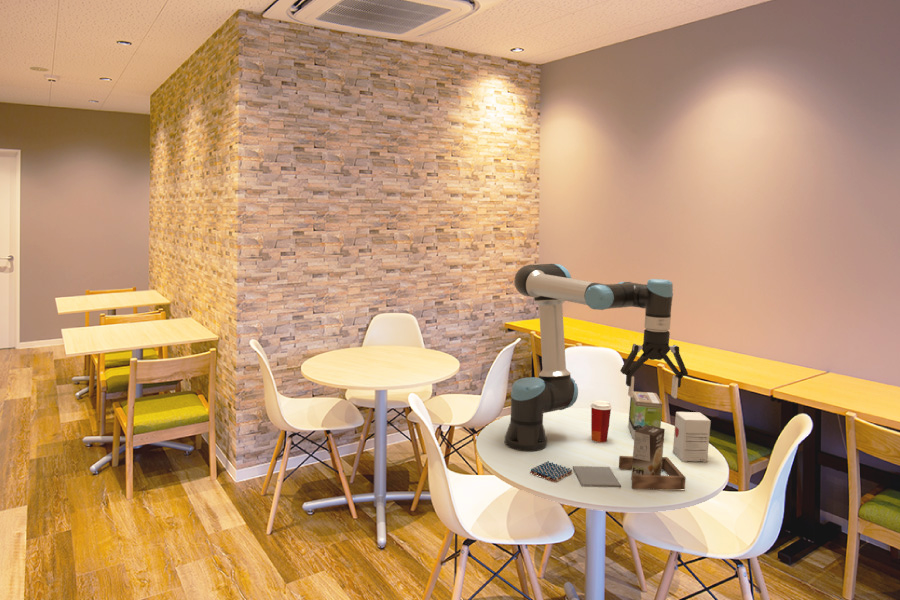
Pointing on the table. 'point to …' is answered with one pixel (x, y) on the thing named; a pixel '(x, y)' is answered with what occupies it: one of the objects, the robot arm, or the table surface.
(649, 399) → the tea box
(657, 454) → the coffee box
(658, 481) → the frame
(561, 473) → the woven mat
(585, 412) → the table surface
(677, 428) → the supplement box
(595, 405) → the paper cup
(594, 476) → the slate mat
